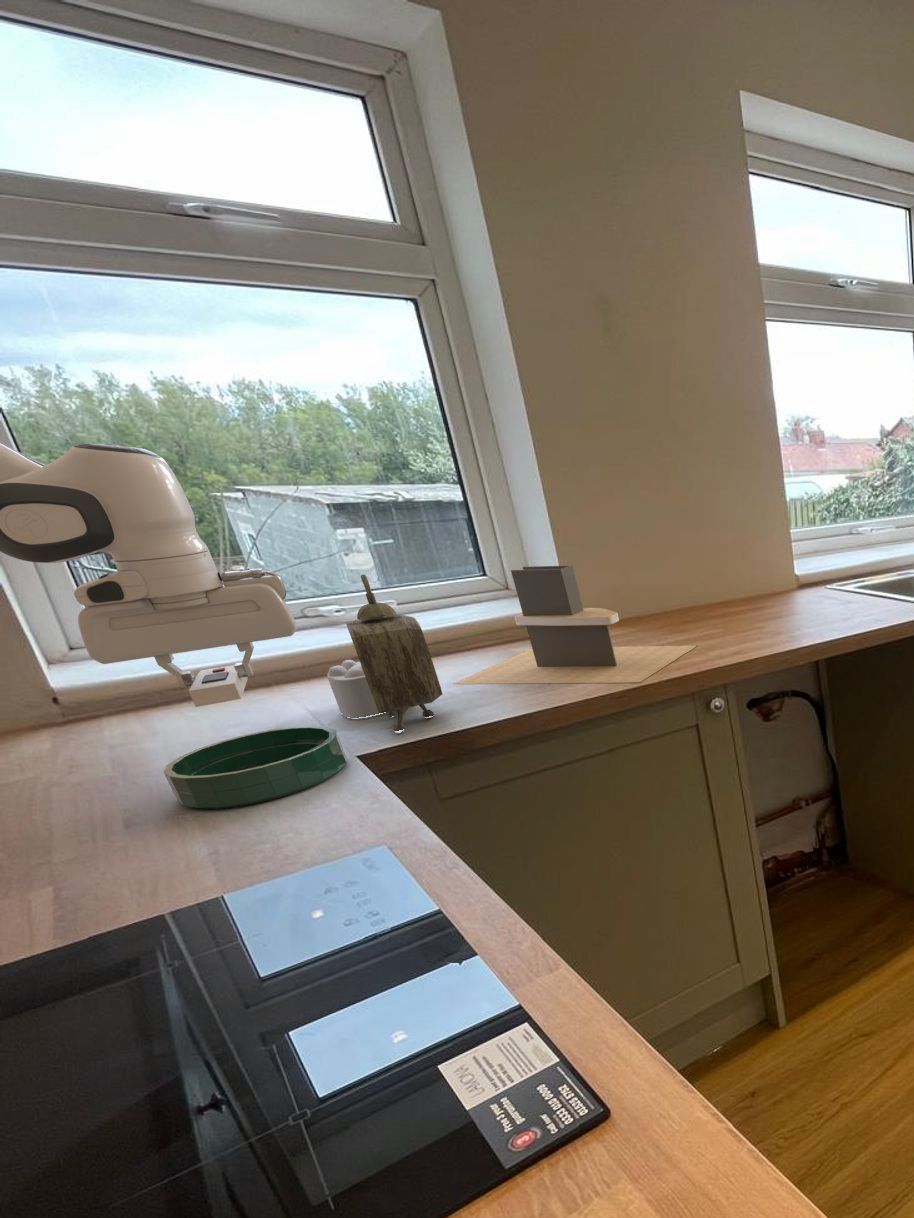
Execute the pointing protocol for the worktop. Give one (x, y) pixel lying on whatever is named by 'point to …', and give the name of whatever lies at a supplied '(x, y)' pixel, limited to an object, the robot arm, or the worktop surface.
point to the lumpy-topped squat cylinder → (352, 690)
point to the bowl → (255, 767)
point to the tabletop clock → (393, 659)
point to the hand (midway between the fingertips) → (218, 680)
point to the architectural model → (569, 638)
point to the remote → (217, 686)
